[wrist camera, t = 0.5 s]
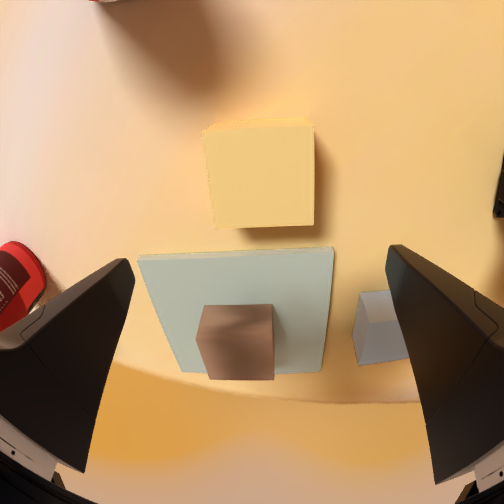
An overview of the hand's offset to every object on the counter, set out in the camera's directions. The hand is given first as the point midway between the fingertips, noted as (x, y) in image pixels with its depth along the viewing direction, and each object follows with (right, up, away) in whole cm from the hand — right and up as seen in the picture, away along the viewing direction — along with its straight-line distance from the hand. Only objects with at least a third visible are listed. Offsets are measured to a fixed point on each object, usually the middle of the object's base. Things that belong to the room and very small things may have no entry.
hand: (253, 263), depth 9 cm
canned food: (-26, -1, +17) cm, 32 cm away
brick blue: (+13, -6, +17) cm, 22 cm away
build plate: (-1, -6, +18) cm, 19 cm away
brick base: (-1, -7, +18) cm, 19 cm away
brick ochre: (+1, +7, +10) cm, 12 cm away
